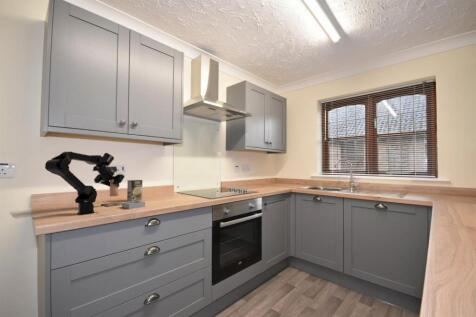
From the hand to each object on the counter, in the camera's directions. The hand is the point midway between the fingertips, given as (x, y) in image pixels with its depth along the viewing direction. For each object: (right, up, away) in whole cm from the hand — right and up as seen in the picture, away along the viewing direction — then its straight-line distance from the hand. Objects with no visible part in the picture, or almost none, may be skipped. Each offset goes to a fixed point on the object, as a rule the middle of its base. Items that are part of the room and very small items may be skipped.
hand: (115, 186), depth 153 cm
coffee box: (+3, -14, +21) cm, 26 cm away
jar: (0, -6, -2) cm, 6 cm away
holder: (+18, -12, -11) cm, 25 cm away
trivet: (0, -13, -2) cm, 13 cm away
